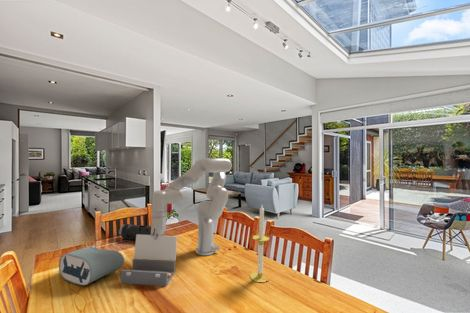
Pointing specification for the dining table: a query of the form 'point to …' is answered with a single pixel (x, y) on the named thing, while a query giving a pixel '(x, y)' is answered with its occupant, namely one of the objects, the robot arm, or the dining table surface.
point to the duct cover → (155, 247)
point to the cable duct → (149, 272)
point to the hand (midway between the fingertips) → (158, 246)
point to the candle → (260, 248)
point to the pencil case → (89, 264)
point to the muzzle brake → (134, 231)
